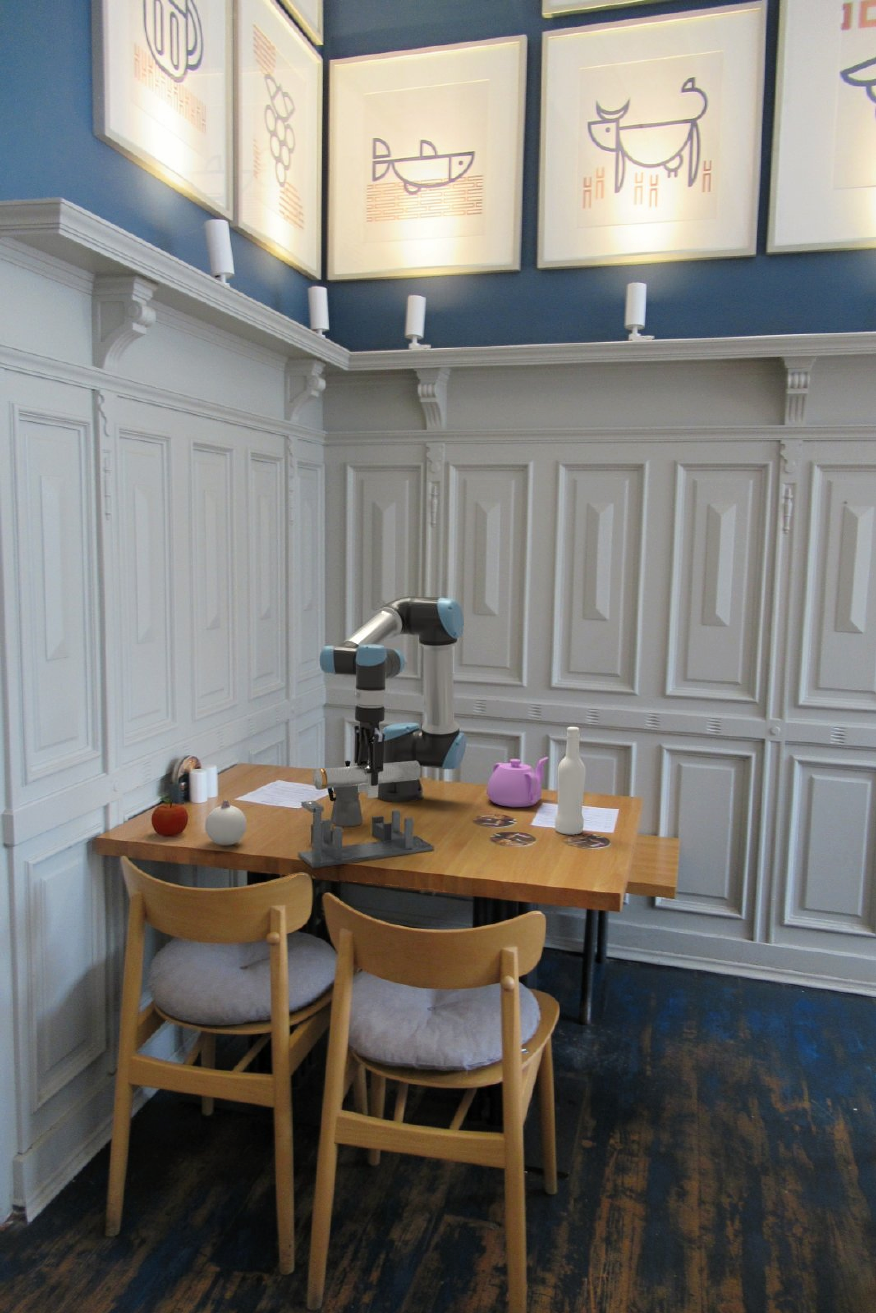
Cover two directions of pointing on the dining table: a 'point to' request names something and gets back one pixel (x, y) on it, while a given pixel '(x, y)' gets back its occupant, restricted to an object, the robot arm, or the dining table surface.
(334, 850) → the grey tube stand
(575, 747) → the bottle
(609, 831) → the dining table surface
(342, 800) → the coffeepot
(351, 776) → the tube
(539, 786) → the teapot
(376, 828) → the rest chocks
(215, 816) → the ornament
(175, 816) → the fruit
